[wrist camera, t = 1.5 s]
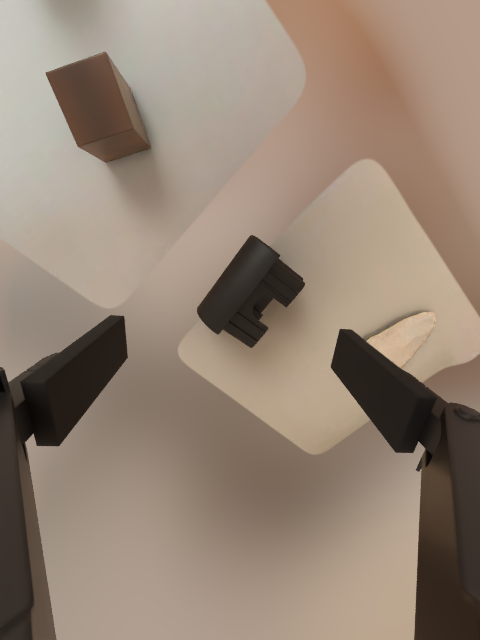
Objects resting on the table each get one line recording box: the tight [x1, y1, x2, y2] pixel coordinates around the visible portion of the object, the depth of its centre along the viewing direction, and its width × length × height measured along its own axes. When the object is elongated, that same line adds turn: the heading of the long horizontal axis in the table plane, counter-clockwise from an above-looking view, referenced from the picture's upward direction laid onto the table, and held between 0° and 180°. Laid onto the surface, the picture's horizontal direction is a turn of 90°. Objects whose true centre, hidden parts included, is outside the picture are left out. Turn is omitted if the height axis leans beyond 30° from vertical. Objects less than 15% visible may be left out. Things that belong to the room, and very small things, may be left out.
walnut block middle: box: [46, 52, 151, 162], centre depth 22 cm, size 5×5×5 cm
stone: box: [366, 312, 437, 368], centre depth 33 cm, size 8×14×2 cm, turn 135°
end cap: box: [197, 235, 305, 348], centre depth 27 cm, size 10×7×7 cm
